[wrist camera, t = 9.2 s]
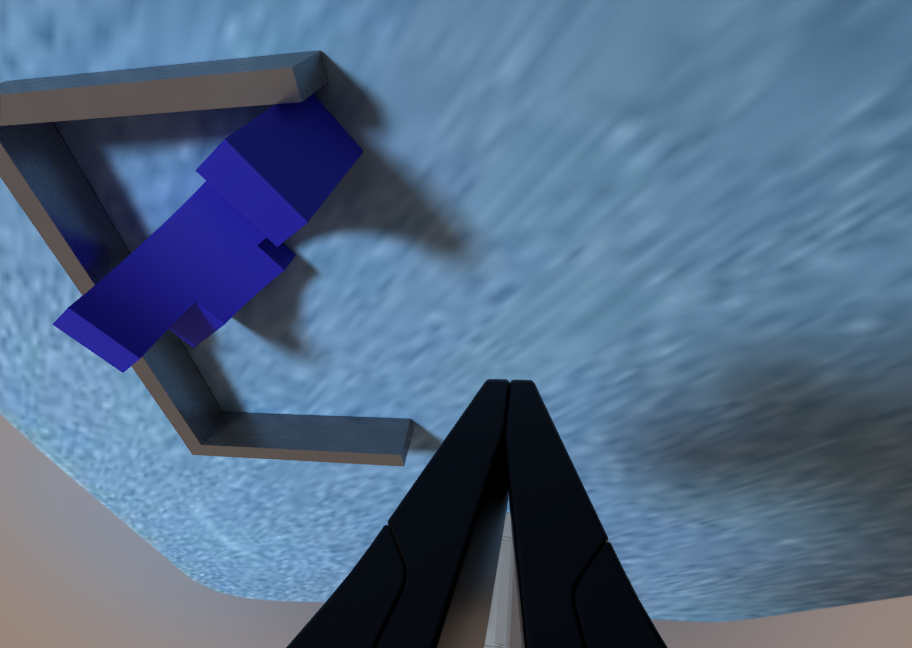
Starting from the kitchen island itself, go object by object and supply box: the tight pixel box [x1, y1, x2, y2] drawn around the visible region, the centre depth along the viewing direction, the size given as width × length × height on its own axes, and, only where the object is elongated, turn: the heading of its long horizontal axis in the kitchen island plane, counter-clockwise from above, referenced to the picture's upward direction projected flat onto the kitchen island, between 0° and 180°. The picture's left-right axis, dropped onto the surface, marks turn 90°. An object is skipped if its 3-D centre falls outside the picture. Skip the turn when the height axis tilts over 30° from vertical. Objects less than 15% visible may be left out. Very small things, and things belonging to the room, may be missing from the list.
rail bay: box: [0, 51, 413, 466], centre depth 23 cm, size 13×20×3 cm, turn 6°
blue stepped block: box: [53, 94, 363, 372], centre depth 20 cm, size 12×4×6 cm, turn 129°
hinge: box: [484, 513, 522, 648], centre depth 32 cm, size 14×5×10 cm, turn 4°
